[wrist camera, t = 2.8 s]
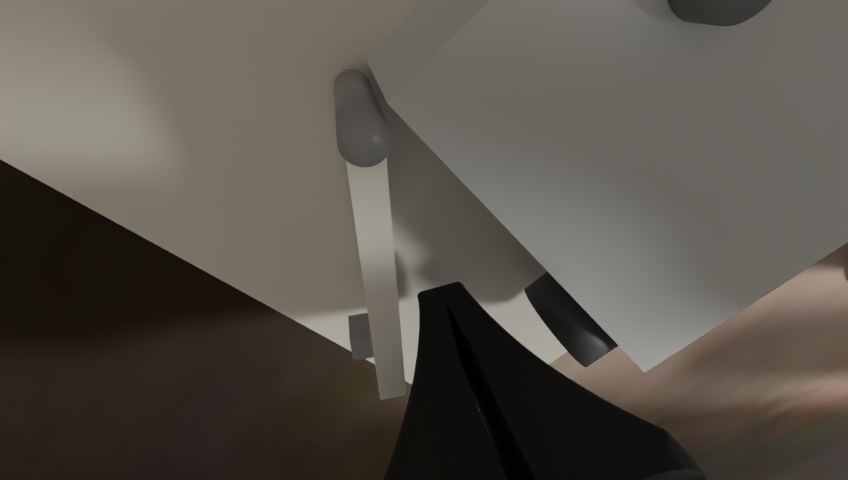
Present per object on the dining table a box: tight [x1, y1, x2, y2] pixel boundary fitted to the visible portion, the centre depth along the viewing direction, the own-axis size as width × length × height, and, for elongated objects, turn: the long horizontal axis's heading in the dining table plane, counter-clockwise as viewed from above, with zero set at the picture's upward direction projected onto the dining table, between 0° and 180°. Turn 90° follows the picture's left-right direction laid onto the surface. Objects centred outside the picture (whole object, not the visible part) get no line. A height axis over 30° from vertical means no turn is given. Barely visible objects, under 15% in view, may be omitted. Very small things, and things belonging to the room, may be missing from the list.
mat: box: [0, 0, 567, 412], centre depth 12 cm, size 20×15×1 cm
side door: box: [334, 69, 406, 400], centre depth 10 cm, size 8×1×4 cm, turn 2°
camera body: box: [367, 0, 848, 373], centre depth 10 cm, size 11×8×5 cm
